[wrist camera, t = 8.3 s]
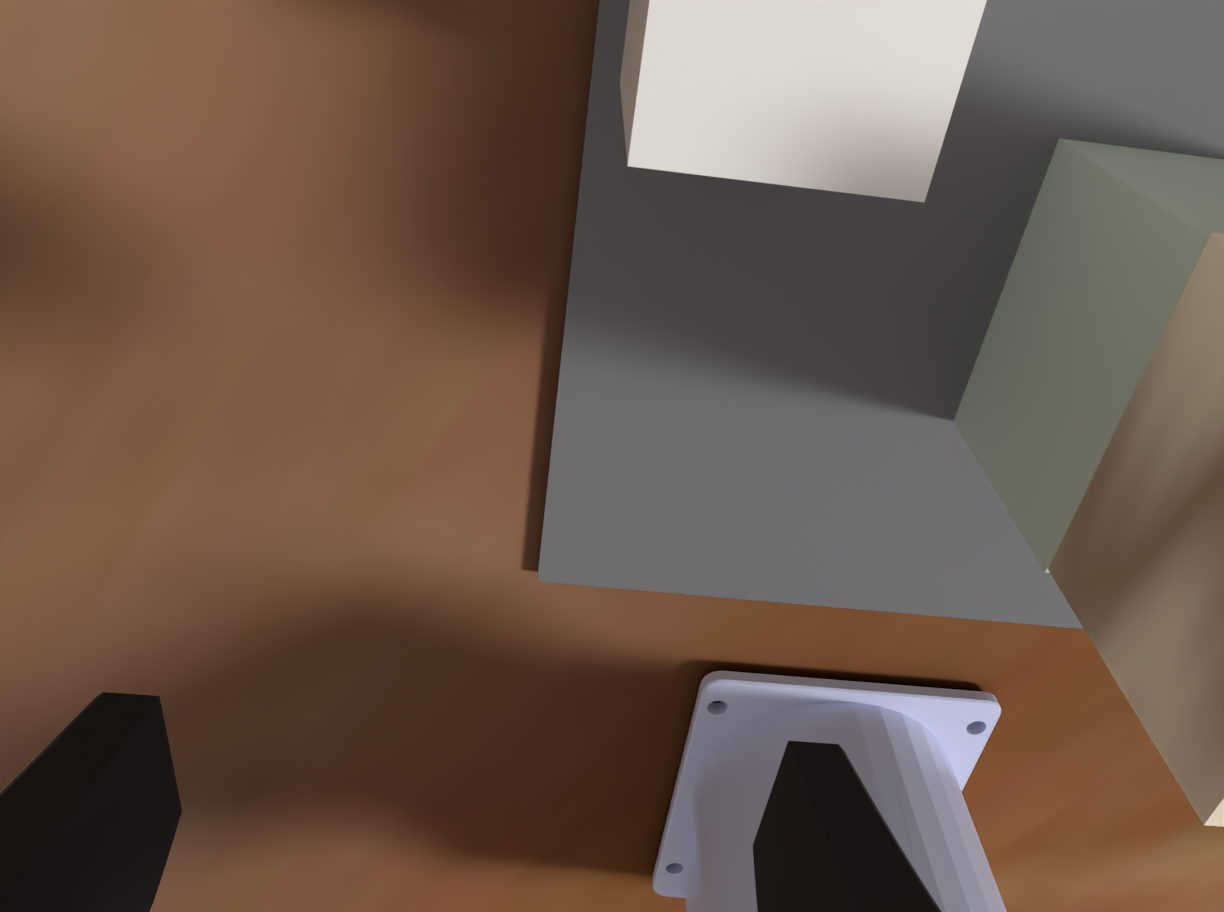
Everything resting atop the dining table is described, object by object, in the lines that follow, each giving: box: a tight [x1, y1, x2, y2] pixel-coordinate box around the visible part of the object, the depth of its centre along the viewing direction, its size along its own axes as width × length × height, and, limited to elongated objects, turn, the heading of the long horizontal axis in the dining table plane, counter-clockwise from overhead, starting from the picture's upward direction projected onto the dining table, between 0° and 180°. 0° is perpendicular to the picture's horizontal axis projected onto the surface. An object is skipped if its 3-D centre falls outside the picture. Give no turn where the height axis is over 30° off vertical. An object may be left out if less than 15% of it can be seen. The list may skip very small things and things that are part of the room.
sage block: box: [954, 138, 1224, 573], centre depth 17 cm, size 6×4×5 cm, turn 173°
